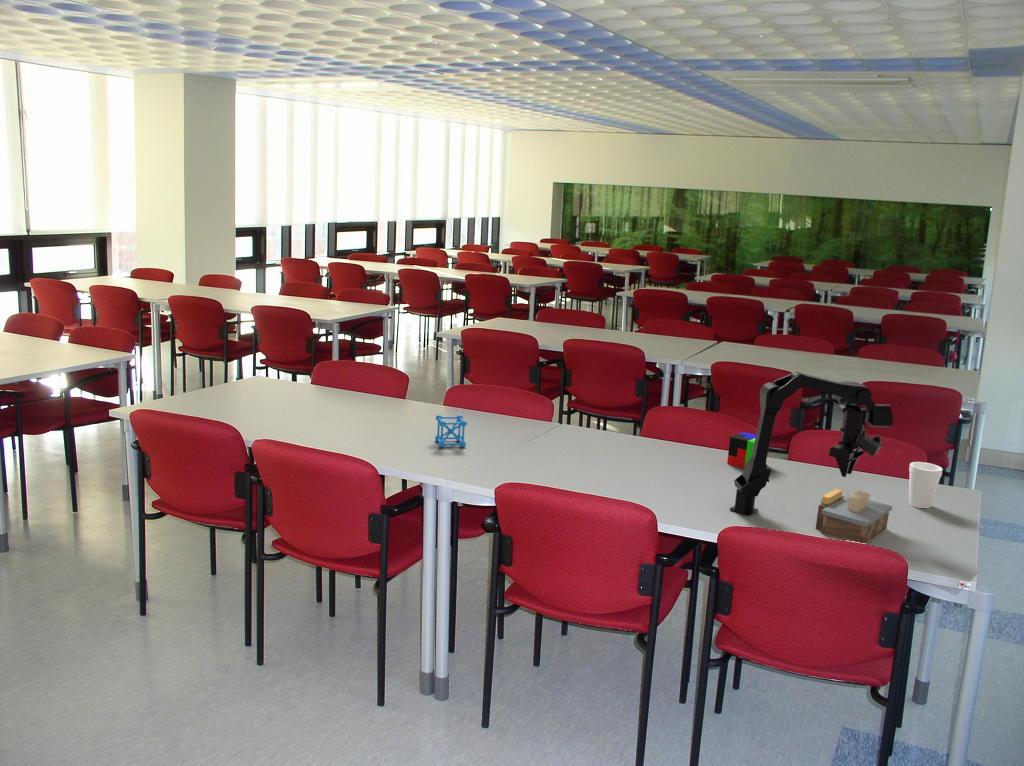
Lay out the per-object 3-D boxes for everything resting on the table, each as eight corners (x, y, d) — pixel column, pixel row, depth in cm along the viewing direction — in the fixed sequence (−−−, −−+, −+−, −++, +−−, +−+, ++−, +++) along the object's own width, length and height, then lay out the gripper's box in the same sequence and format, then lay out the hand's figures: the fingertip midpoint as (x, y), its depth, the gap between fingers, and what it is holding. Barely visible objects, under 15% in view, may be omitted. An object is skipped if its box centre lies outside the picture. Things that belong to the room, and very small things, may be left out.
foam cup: (897, 502, 290) (904, 464, 287) (914, 498, 295) (920, 460, 292) (925, 512, 282) (932, 472, 279) (941, 507, 287) (948, 468, 284)
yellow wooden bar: (828, 504, 261) (829, 498, 261) (821, 502, 263) (822, 496, 262) (841, 496, 269) (842, 490, 268) (834, 495, 270) (835, 488, 270)
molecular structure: (438, 448, 319) (439, 421, 317) (434, 440, 328) (435, 413, 326) (466, 448, 321) (467, 421, 319) (461, 440, 331) (462, 413, 329)
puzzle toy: (739, 458, 328) (742, 431, 326) (765, 464, 322) (768, 437, 320) (727, 463, 321) (730, 436, 318) (753, 470, 315) (756, 443, 312)
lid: (866, 526, 250) (869, 509, 248) (809, 510, 260) (812, 493, 259) (891, 509, 264) (894, 493, 263) (836, 494, 275) (839, 478, 274)
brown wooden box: (862, 546, 252) (866, 521, 250) (811, 530, 261) (815, 507, 259) (886, 529, 266) (890, 505, 264) (837, 515, 275) (840, 492, 273)
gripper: (869, 436, 256) (861, 489, 260) (892, 426, 270) (884, 475, 273) (831, 428, 263) (824, 479, 267) (855, 418, 277) (848, 466, 280)
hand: (846, 475), depth 272 cm, fingers open, 4 cm apart
